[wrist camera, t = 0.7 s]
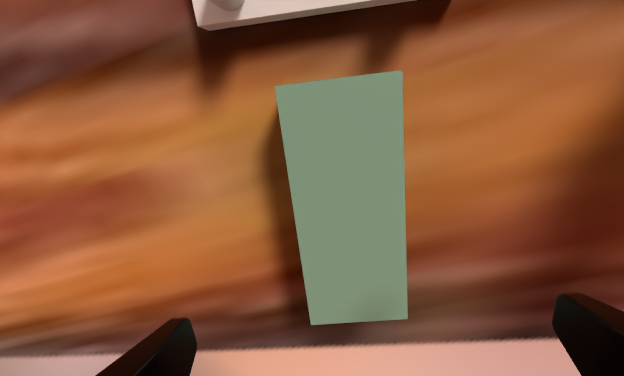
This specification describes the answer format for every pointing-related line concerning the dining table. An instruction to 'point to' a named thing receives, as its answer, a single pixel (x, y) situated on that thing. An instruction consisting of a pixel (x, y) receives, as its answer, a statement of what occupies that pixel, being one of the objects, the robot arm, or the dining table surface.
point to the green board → (348, 194)
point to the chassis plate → (270, 10)
